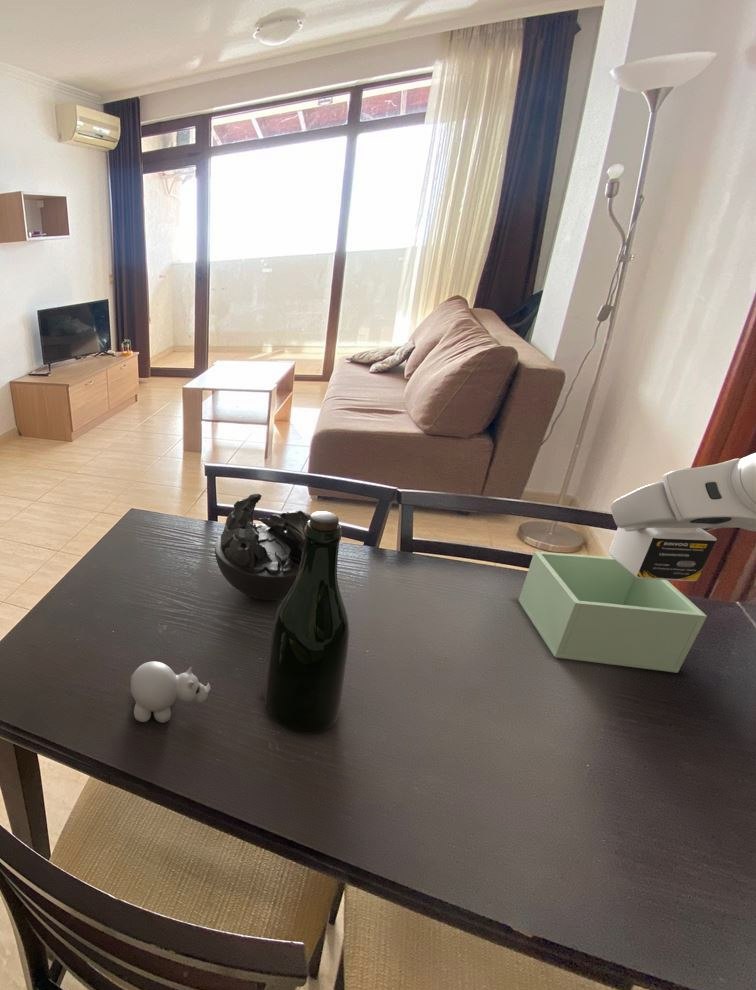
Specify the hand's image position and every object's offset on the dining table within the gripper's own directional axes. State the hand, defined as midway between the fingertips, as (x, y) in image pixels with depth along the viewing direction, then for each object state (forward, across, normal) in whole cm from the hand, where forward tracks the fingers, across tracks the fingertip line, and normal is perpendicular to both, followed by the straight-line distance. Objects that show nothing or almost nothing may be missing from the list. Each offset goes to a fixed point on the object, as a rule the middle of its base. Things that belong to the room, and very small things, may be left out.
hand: (662, 526), depth 77 cm
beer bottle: (+6, +51, +27) cm, 58 cm away
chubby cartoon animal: (+5, +71, +28) cm, 76 cm away
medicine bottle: (+4, 0, +5) cm, 7 cm away
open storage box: (+20, 0, +13) cm, 24 cm away
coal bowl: (+28, +52, +5) cm, 59 cm away
